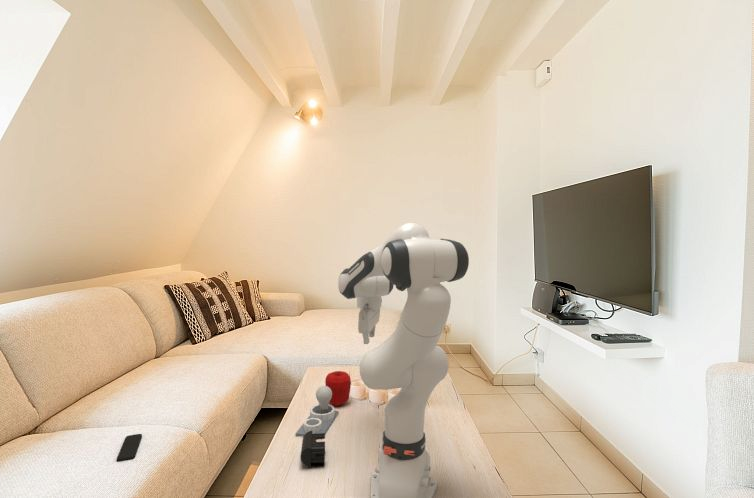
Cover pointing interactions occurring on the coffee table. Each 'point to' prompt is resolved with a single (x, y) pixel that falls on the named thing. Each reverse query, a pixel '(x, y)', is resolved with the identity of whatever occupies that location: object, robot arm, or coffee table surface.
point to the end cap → (313, 450)
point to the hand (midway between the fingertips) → (369, 340)
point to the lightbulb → (323, 398)
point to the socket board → (318, 421)
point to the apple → (338, 387)
